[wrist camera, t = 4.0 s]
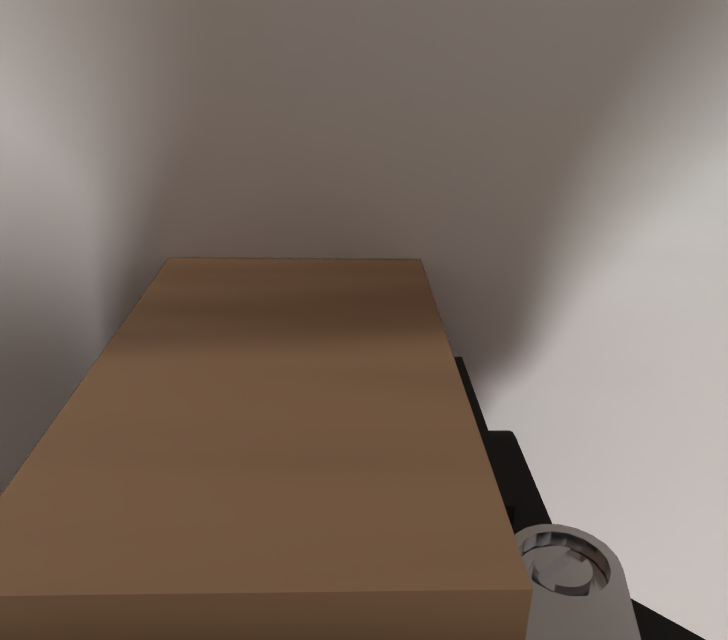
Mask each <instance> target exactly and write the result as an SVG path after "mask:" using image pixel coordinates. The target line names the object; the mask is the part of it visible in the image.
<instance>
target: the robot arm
mask: <svg viewBox="0 0 728 640" xmlns="http://www.w3.org/2000/svg"><path fill="white" fill-rule="evenodd" d="M454 359H455V362H456V365H457V368H458V371H459V374H460V377H461V380H462V383H463V386H464V389H465V392H466V395H467V398H468V400H469V403H470V406H471V409H472V412H473V415H474V418H475V421H476V424H477V427H478V430H479V433H480V436H481V439H482V442H483V444H484V447H485V450H486V453H487V456H488V459H489V462H490V465H491V468H492V471H493V474H494V477H495V480H496V483H497V485H498V488H499V491H500V494H501V497H502V500H503V503H504V506H505V509H506V512H507V515H508V518H509V521H510V524H511V527H512V529H513V532H514V535H515V538H516V541H517V544H518V547H519V550H520V553H521V556H522V559H523V562H524V565H525V568H526V571H527V573H528V576H529V579H530V582H531V585H532V588H533V592H532V599H531V605H530V612H529V618H528V625H527V632H526V638H525V640H705V639H703V638H701V637H700V636H698V635H696V634H694V633H692V632H691V631H689V630H687V629H685V628H683V627H682V626H680V625H678V624H676V623H674V622H673V621H671V620H669V619H667V618H665V617H663V616H662V615H660V614H658V613H656V612H654V611H653V610H651V609H649V608H647V607H645V606H644V605H642V604H640V603H638V602H636V601H635V600H633V599H631V598H630V594H629V590H628V586H627V582H626V578H625V574H624V570H623V568H622V566H621V563H620V561H619V559H618V557H617V556H616V555H615V554H614V552H613V551H612V550H611V549H610V548H609V547H608V546H607V545H606V544H605V543H603V542H602V541H600V540H599V539H597V538H596V537H594V536H593V535H591V534H589V533H586V532H584V531H581V530H579V529H577V528H573V527H569V526H564V525H559V524H552V522H551V520H550V518H549V515H548V513H547V510H546V508H545V506H544V503H543V501H542V499H541V496H540V494H539V491H538V489H537V487H536V484H535V482H534V480H533V477H532V475H531V472H530V470H529V468H528V465H527V463H526V461H525V458H524V456H523V454H522V451H521V449H520V446H519V444H518V442H517V439H516V437H515V435H514V434H513V432H512V431H488V428H487V426H486V423H485V420H484V417H483V414H482V412H481V409H480V406H479V403H478V401H477V398H476V395H475V392H474V390H473V387H472V384H471V381H470V379H469V376H468V373H467V370H466V368H465V365H464V362H463V359H462V358H461V357H454Z"/></svg>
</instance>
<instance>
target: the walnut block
mask: <svg viewBox="0 0 728 640" xmlns="http://www.w3.org/2000/svg"><path fill="white" fill-rule="evenodd" d="M532 592H533V588H532V585H531V582H530V579H529V576H528V573H527V571H526V568H525V565H524V562H523V559H522V556H521V553H520V550H519V547H518V544H517V541H516V538H515V535H514V532H513V529H512V527H511V524H510V521H509V518H508V515H507V512H506V509H505V506H504V503H503V500H502V497H501V494H500V491H499V488H498V485H497V483H496V480H495V477H494V474H493V471H492V468H491V465H490V462H489V459H488V456H487V453H486V450H485V447H484V444H483V442H482V439H481V436H480V433H479V430H478V427H477V424H476V421H475V418H474V415H473V412H472V409H471V406H470V403H469V400H468V398H467V395H466V392H465V389H464V386H463V383H462V380H461V377H460V374H459V371H458V368H457V365H456V362H455V359H454V356H453V354H452V351H451V348H450V345H449V342H448V339H447V336H446V333H445V330H444V327H443V324H442V321H441V318H440V315H439V312H438V310H437V307H436V304H435V301H434V298H433V295H432V292H431V289H430V286H429V283H428V280H427V277H426V274H425V271H424V268H423V266H422V263H421V260H420V259H270V258H168V260H167V261H166V263H165V264H164V265H163V267H162V268H161V270H160V271H159V273H158V274H157V275H156V277H155V278H154V280H153V281H152V282H151V284H150V285H149V287H148V288H147V289H146V291H145V292H144V294H143V295H142V297H141V298H140V299H139V301H138V302H137V304H136V305H135V306H134V308H133V309H132V311H131V312H130V313H129V315H128V316H127V318H126V319H125V321H124V322H123V323H122V325H121V326H120V328H119V329H118V330H117V332H116V333H115V335H114V336H113V337H112V339H111V340H110V342H109V343H108V345H107V346H106V347H105V349H104V350H103V352H102V353H101V354H100V356H99V357H98V359H97V360H96V362H95V363H94V364H93V366H92V367H91V369H90V370H89V371H88V373H87V374H86V376H85V377H84V378H83V380H82V381H81V383H80V384H79V386H78V387H77V388H76V390H75V391H74V393H73V394H72V395H71V397H70V398H69V400H68V401H67V402H66V404H65V405H64V407H63V408H62V410H61V411H60V412H59V414H58V415H57V417H56V418H55V419H54V421H53V422H52V424H51V425H50V426H49V428H48V429H47V431H46V432H45V434H44V435H43V436H42V438H41V439H40V441H39V442H38V443H37V445H36V446H35V448H34V449H33V451H32V452H31V453H30V455H29V456H28V458H27V459H26V460H25V462H24V463H23V465H22V466H21V467H20V469H19V470H18V472H17V473H16V475H15V476H14V477H13V479H12V480H11V482H10V483H9V484H8V486H7V487H6V489H5V490H4V491H3V493H2V494H1V496H0V640H525V638H526V632H527V625H528V618H529V612H530V605H531V599H532Z"/></svg>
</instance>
